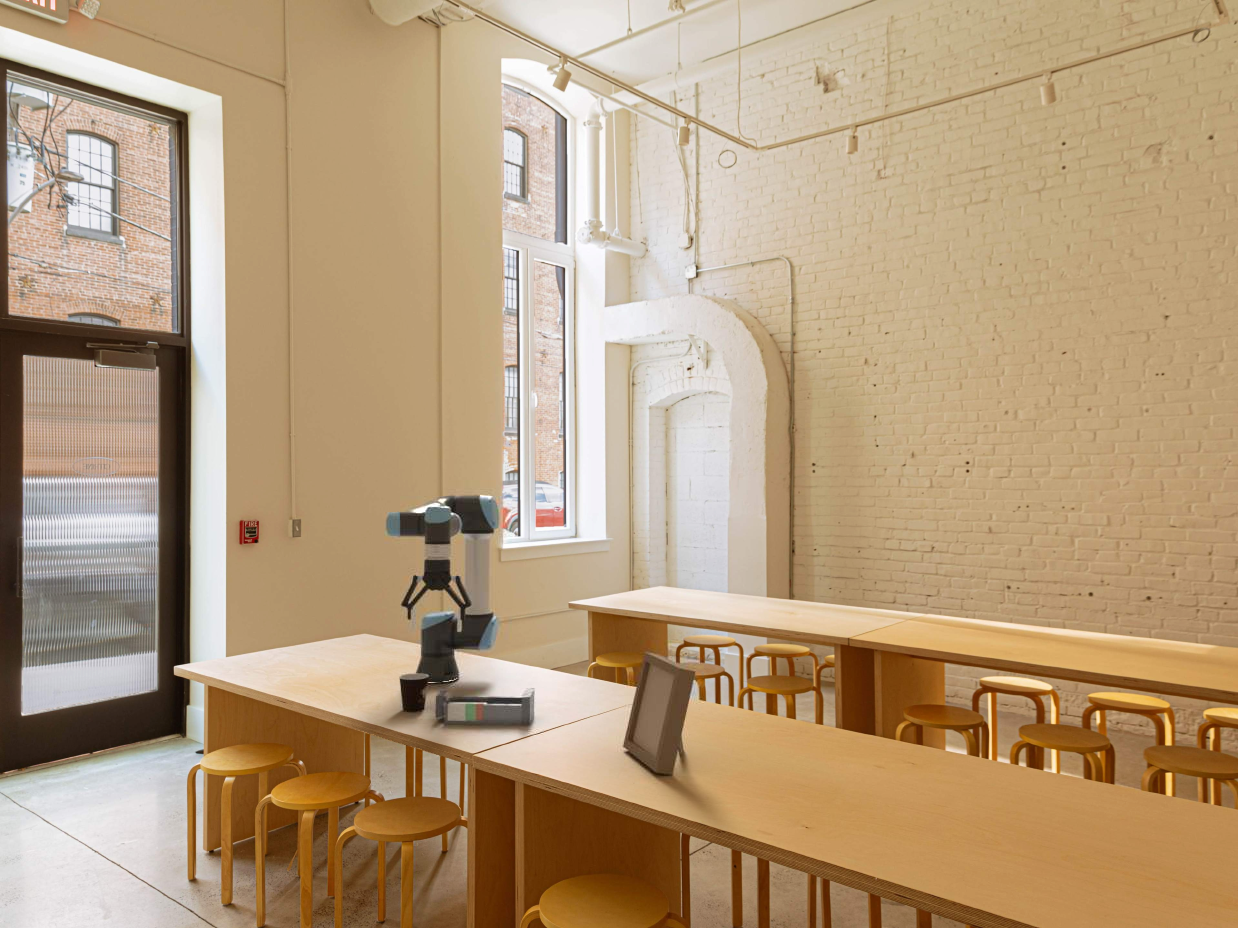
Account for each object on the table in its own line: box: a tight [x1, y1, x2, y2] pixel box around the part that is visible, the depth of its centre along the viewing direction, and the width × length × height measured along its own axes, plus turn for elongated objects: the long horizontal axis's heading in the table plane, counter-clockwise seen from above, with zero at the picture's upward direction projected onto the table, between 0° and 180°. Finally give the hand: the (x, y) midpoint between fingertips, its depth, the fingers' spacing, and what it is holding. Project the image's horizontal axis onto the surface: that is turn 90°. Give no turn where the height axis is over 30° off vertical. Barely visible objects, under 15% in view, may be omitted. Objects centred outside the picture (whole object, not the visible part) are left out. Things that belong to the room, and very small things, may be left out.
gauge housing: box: [443, 687, 535, 727], centre depth 250 cm, size 11×24×8 cm, turn 89°
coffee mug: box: [399, 672, 429, 713], centre depth 263 cm, size 12×9×10 cm
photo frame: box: [622, 651, 697, 776], centre depth 215 cm, size 15×22×25 cm
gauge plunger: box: [435, 690, 487, 718], centre depth 249 cm, size 10×14×6 cm
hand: (436, 631), depth 253 cm, fingers open, 13 cm apart
